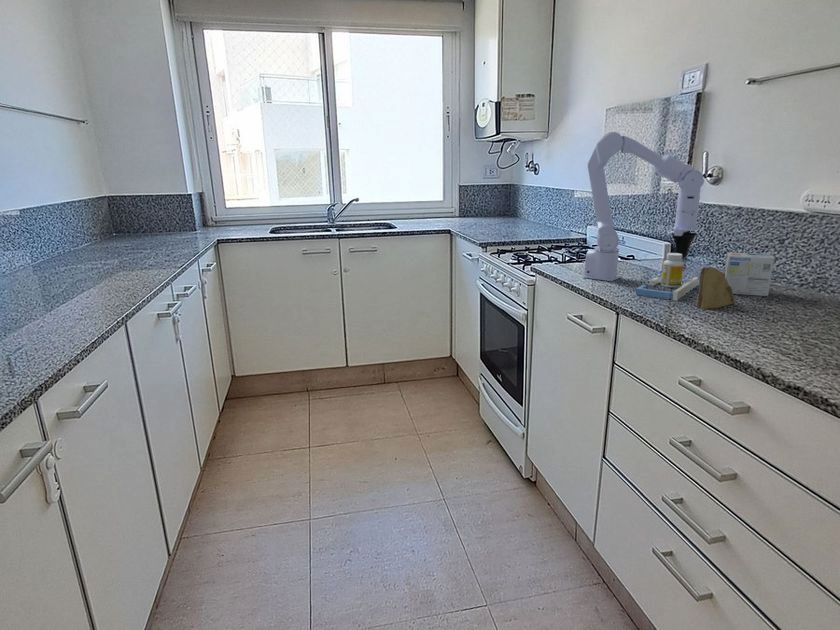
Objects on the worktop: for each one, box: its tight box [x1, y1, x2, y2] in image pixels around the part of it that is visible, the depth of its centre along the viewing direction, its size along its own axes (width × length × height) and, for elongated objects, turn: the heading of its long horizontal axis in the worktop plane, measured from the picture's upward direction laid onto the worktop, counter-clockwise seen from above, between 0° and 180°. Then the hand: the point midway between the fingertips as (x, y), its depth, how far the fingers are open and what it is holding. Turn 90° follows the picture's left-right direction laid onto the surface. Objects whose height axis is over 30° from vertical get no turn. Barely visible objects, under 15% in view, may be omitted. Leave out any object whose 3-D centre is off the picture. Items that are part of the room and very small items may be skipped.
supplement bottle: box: [660, 252, 685, 289], centre depth 149 cm, size 5×5×10 cm
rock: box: [696, 267, 736, 310], centre depth 128 cm, size 11×9×10 cm
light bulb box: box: [723, 251, 775, 297], centre depth 140 cm, size 11×7×11 cm, turn 65°
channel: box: [635, 276, 699, 302], centre depth 145 cm, size 11×21×2 cm, turn 139°
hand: (681, 256), depth 154 cm, fingers closed
